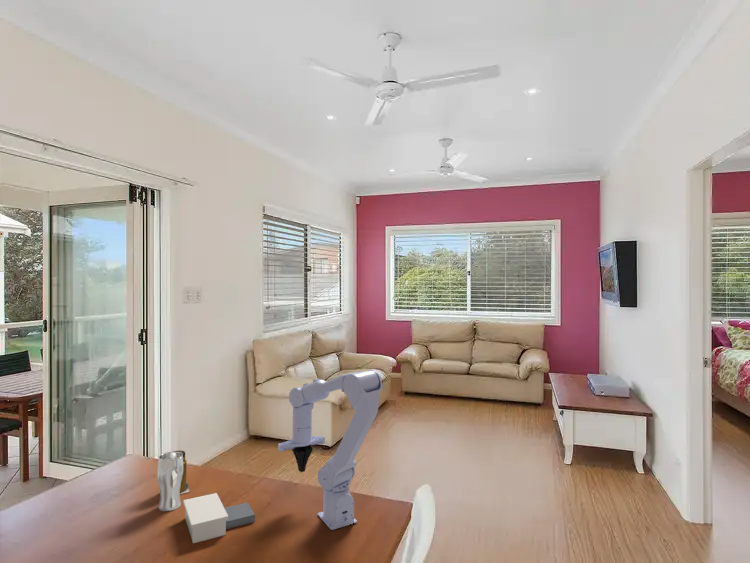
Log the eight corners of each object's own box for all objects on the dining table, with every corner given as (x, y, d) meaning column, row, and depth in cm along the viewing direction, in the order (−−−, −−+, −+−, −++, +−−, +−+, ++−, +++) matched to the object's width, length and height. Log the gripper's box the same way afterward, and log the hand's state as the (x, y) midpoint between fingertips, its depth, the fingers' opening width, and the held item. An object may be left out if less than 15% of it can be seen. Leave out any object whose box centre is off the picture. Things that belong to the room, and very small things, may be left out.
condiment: (164, 497, 136) (165, 458, 137) (163, 486, 144) (163, 449, 144) (189, 492, 140) (190, 454, 140) (187, 482, 147) (187, 445, 148)
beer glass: (164, 514, 126) (165, 462, 126) (152, 507, 130) (153, 456, 130) (187, 505, 132) (188, 454, 132) (175, 498, 136) (175, 449, 136)
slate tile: (254, 523, 123) (254, 514, 123) (201, 537, 116) (201, 527, 116) (247, 510, 130) (247, 502, 130) (196, 523, 123) (196, 513, 123)
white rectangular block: (227, 535, 116) (228, 516, 116) (191, 545, 112) (191, 525, 112) (216, 510, 129) (216, 492, 129) (183, 518, 124) (183, 500, 125)
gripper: (318, 419, 142) (317, 461, 142) (274, 426, 135) (274, 470, 135) (327, 425, 136) (327, 469, 136) (282, 432, 129) (282, 479, 129)
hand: (301, 470), depth 135 cm, fingers closed
